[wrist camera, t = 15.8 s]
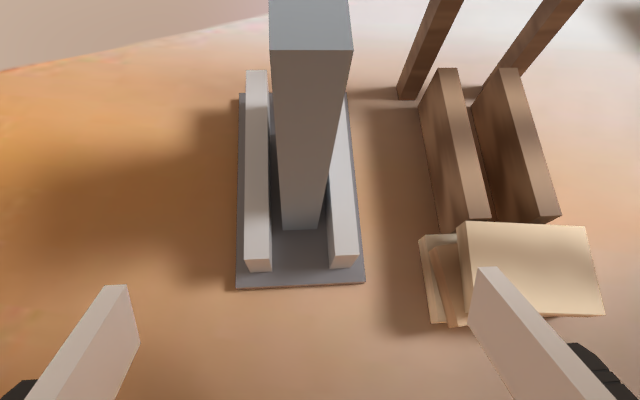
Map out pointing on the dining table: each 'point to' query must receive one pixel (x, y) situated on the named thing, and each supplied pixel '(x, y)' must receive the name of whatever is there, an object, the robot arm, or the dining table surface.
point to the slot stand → (265, 207)
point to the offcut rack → (494, 180)
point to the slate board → (307, 98)
